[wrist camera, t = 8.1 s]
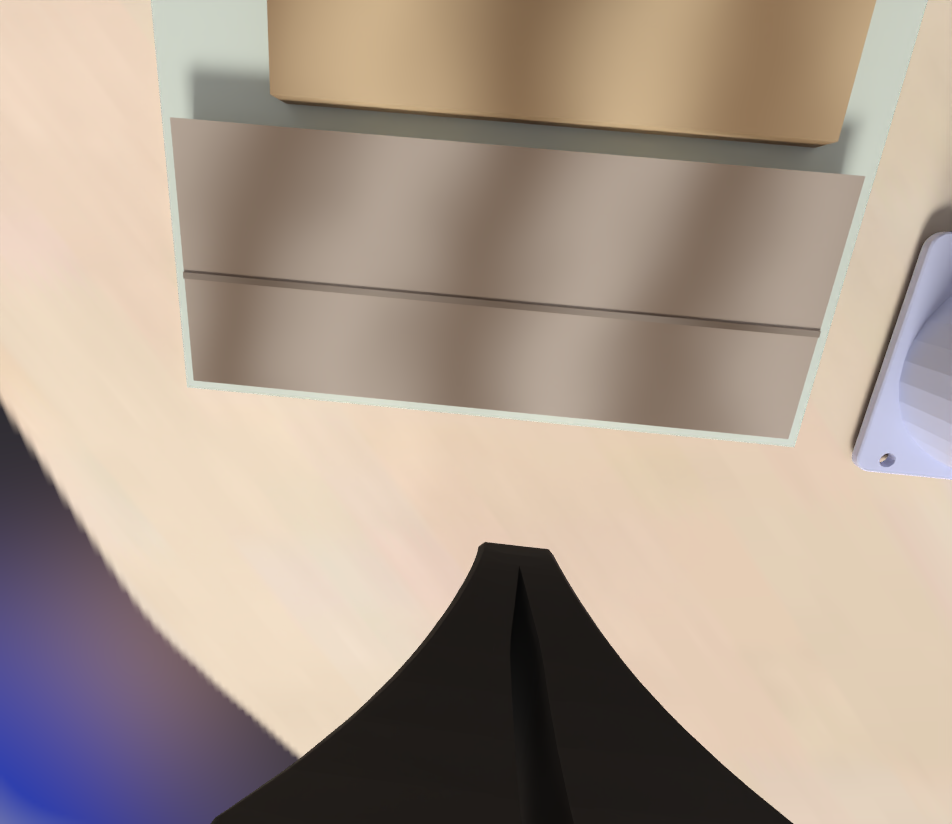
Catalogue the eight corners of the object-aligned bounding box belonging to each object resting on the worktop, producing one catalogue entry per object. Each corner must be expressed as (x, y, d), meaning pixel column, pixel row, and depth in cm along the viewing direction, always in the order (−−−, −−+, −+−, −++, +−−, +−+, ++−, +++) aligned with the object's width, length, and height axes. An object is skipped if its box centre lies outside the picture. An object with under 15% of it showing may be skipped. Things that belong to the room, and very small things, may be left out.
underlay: (1012, -300, 13) (1019, -308, 13) (791, 445, 19) (794, 447, 19) (122, -354, 14) (116, -362, 14) (190, 385, 20) (187, 387, 20)
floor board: (840, 179, 16) (866, 176, 15) (771, 426, 19) (789, 439, 18) (192, 124, 17) (168, 116, 16) (211, 371, 20) (192, 381, 18)
